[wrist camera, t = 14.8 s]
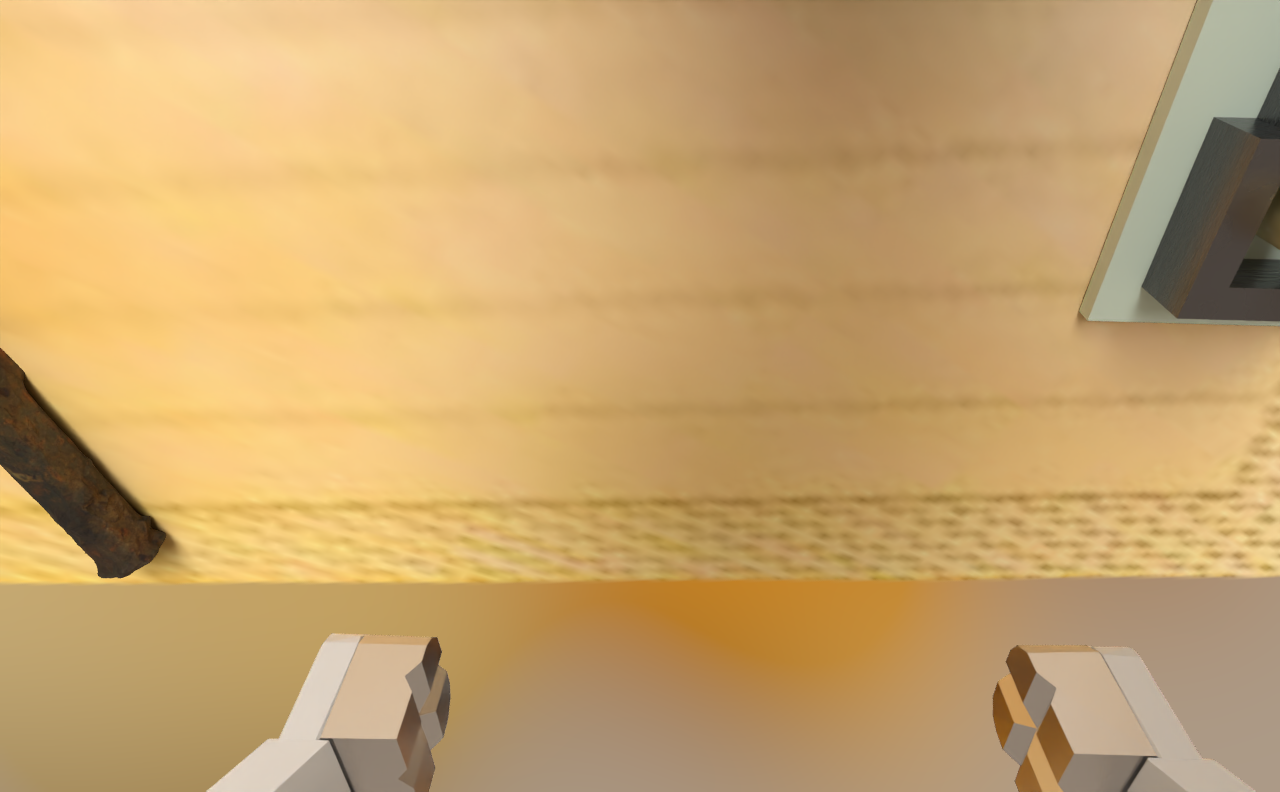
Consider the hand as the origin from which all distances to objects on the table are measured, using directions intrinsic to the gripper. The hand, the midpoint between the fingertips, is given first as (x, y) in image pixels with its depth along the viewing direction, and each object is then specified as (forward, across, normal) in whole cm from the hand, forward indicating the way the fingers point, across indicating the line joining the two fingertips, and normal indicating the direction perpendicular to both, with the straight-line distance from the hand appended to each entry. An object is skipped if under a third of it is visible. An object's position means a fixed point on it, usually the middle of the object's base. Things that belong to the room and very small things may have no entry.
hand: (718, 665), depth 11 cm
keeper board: (+28, -26, -2) cm, 39 cm away
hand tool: (+29, +38, +18) cm, 51 cm away
